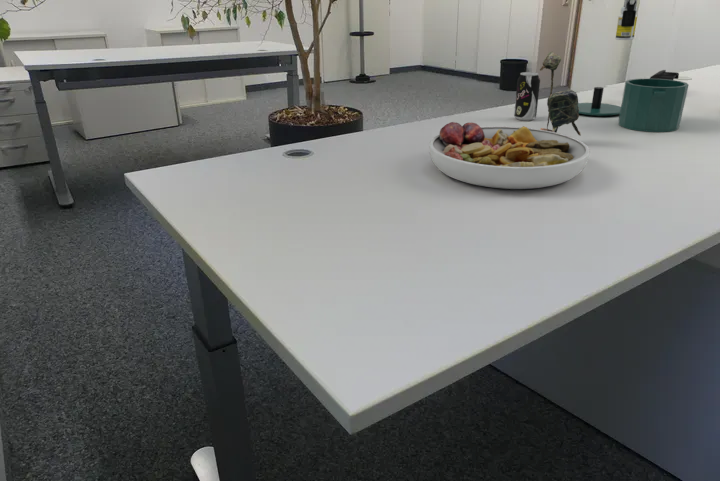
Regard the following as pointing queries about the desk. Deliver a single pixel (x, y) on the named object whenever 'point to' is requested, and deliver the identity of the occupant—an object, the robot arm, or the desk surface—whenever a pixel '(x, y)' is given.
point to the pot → (652, 104)
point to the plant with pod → (560, 100)
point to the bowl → (507, 156)
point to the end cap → (665, 75)
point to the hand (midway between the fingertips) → (626, 25)
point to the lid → (598, 106)
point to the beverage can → (527, 96)
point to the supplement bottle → (625, 28)
